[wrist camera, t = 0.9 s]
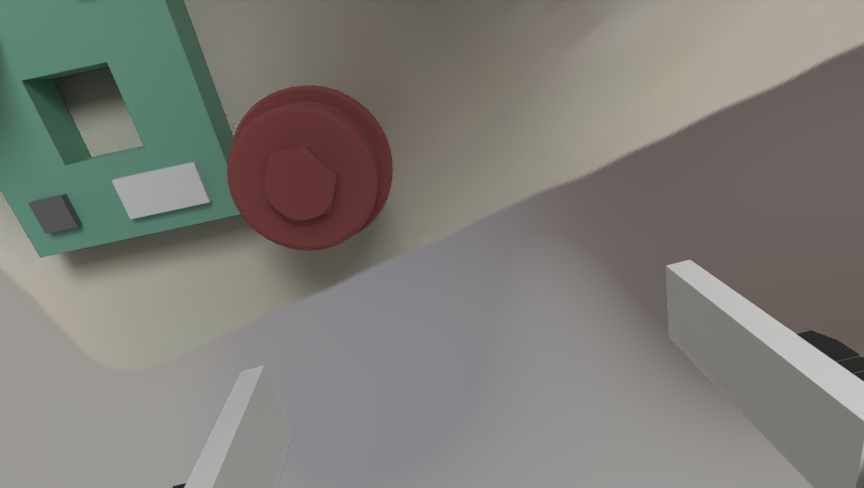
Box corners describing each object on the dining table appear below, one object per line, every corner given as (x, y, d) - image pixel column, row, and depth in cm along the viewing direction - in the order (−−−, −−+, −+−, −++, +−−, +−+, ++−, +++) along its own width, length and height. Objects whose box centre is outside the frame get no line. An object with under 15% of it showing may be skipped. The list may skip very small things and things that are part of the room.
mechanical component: (238, 149, 36) (321, 51, 34) (337, 231, 39) (418, 146, 37) (164, 190, 24) (283, 45, 22) (312, 302, 27) (429, 184, 25)
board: (-106, -69, 29) (-170, -86, 26) (138, -123, 29) (105, -147, 26) (66, 243, 37) (34, 260, 34) (256, 202, 37) (243, 215, 34)
